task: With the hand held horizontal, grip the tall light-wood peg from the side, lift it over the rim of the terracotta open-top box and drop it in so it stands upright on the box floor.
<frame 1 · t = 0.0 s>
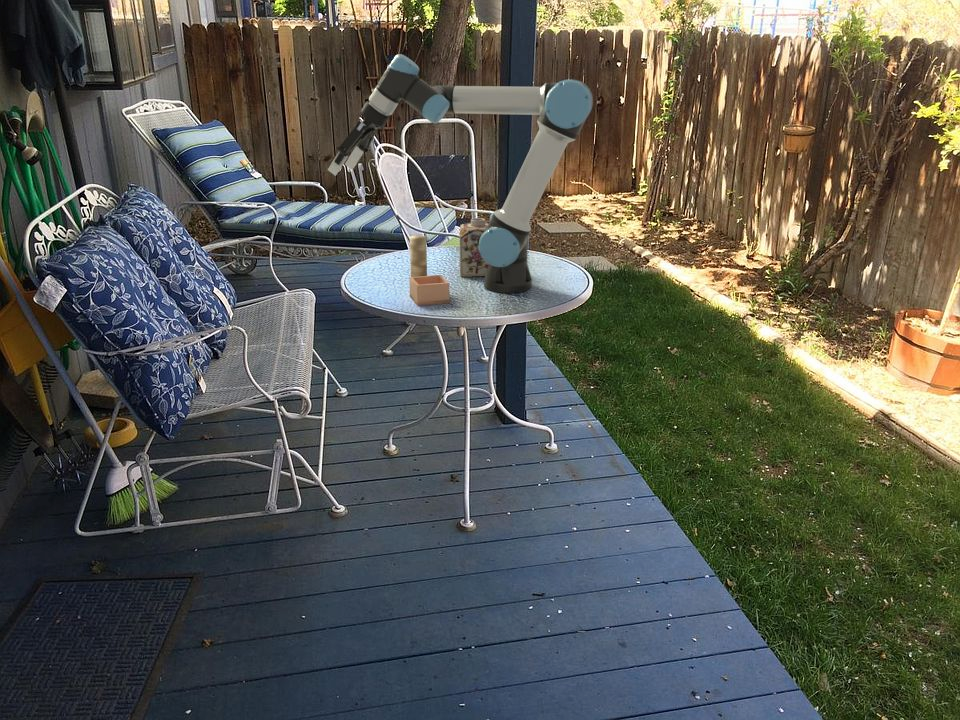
hand: (340, 169, 217), 36 cm above the table, tool tilted 35°, fingers open, 13 cm apart
box: (429, 299, 220), on the table
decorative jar: (477, 273, 250), on the table
peg: (419, 288, 231), on the table
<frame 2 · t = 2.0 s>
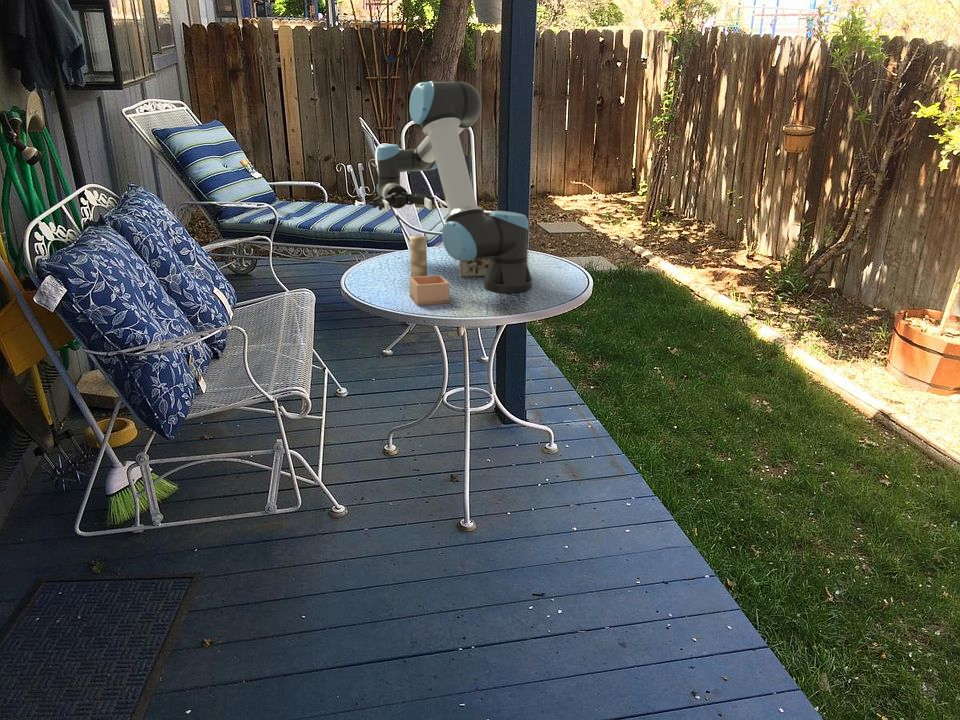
hand: (409, 206, 232), 23 cm above the table, tool horizontal, fingers open, 13 cm apart
nothing on the table moved.
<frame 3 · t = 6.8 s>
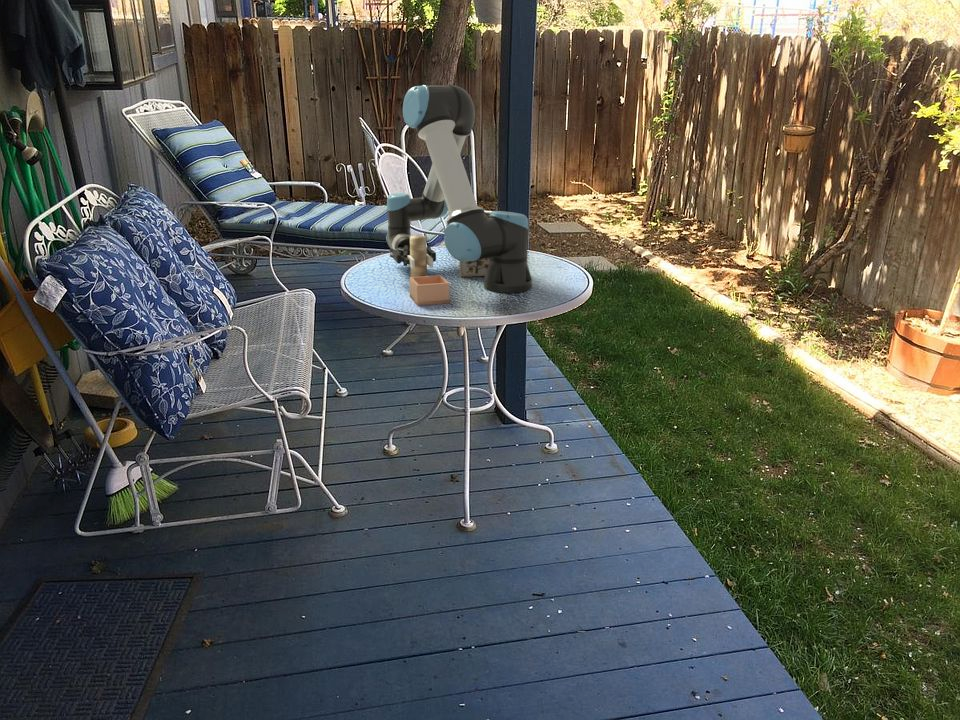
hand: (422, 263, 224), 9 cm above the table, tool horizontal, fingers closed on peg, 5 cm apart
peg: (419, 288, 231), on the table, touching gripper
everything else where it was.
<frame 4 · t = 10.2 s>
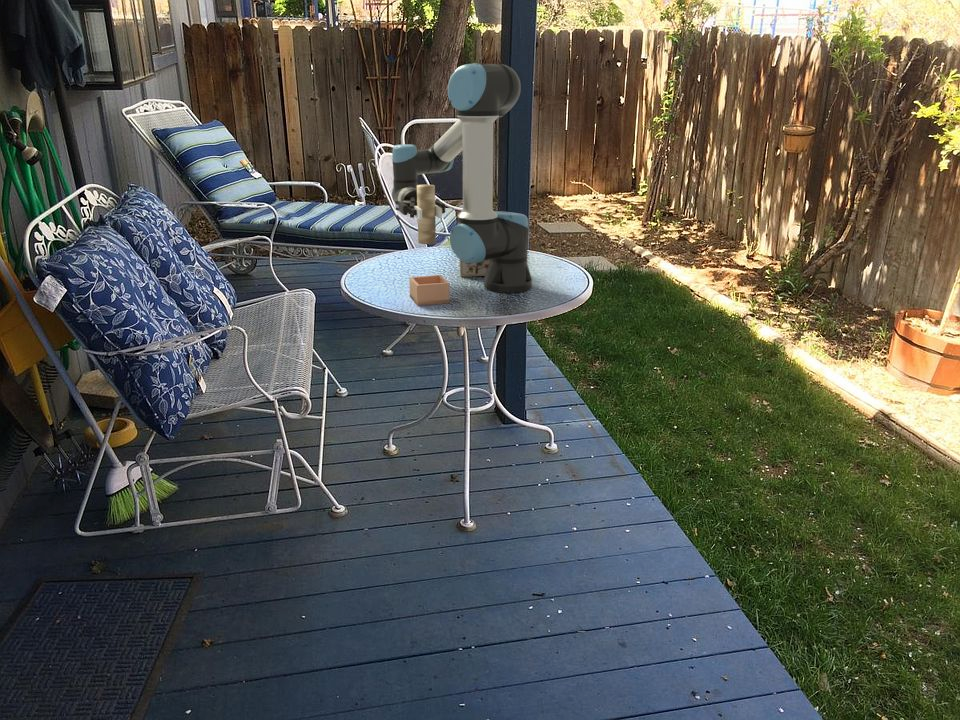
hand: (430, 214, 206), 26 cm above the table, tool horizontal, fingers closed on peg, 5 cm apart
peg: (427, 242, 214), point 17 cm above the table, touching gripper
everything else where it was.
when the fingers open (12 cm above the table, at t = 13.9 s): peg drops 2 cm, resting on box.
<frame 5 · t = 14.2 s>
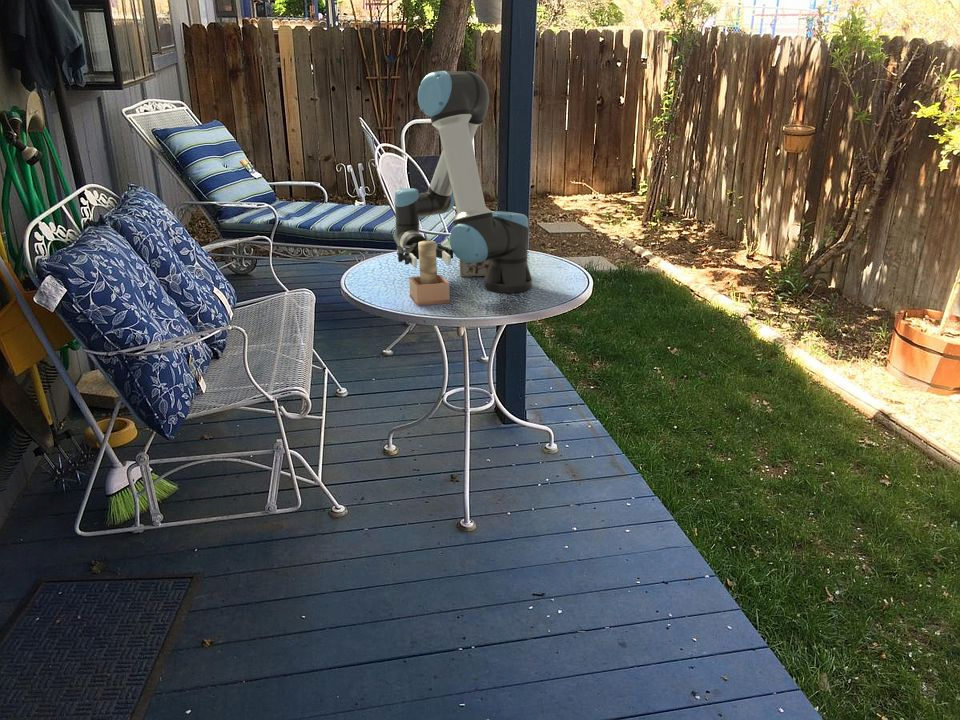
hand: (432, 261, 211), 12 cm above the table, tool horizontal, fingers open, 9 cm apart
peg: (429, 296, 220), point 1 cm above the table, touching box
everything else where it was.
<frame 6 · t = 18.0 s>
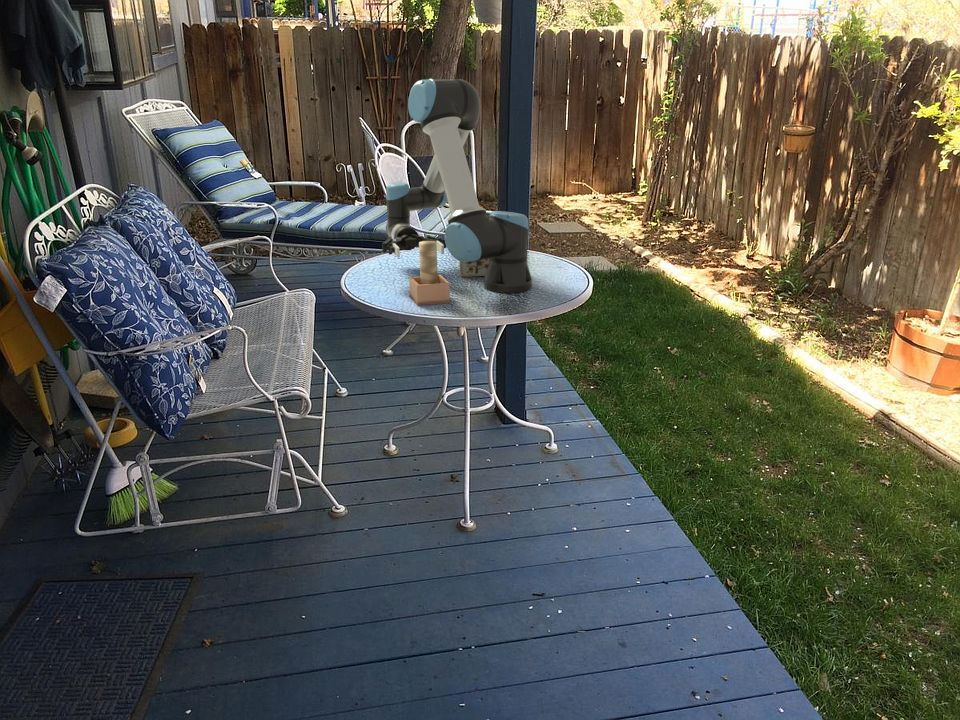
hand: (420, 251, 223), 13 cm above the table, tool horizontal, fingers open, 13 cm apart
nothing on the table moved.
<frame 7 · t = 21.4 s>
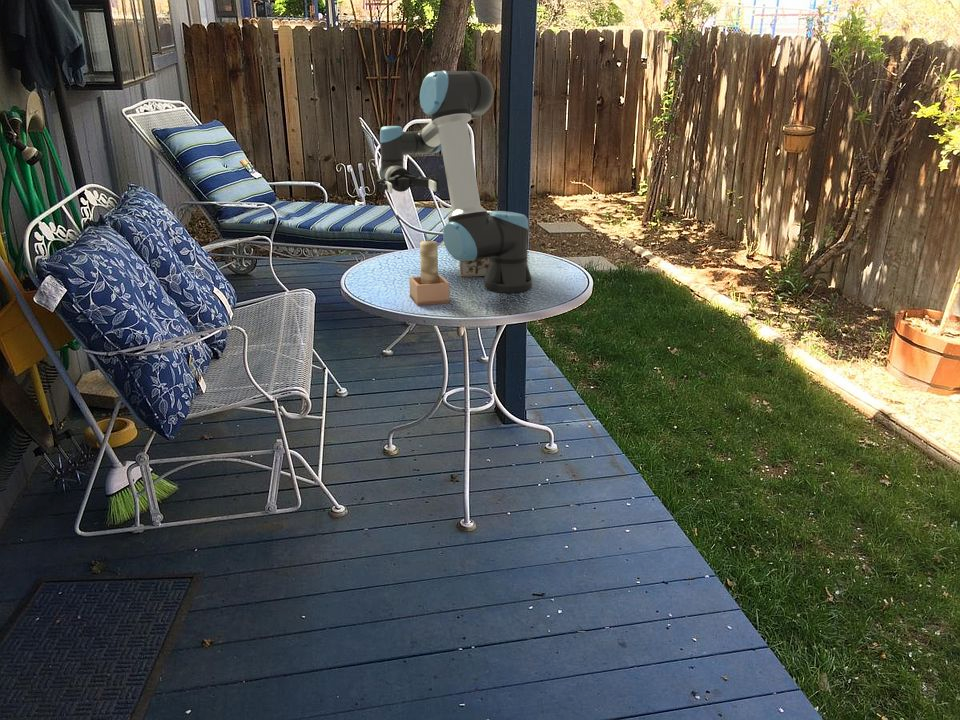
hand: (413, 187, 225), 30 cm above the table, tool horizontal, fingers open, 13 cm apart
nothing on the table moved.
at the end: peg 0.1 cm off-centre on the box, point 1.1 cm above the box's base; peg tilted 1°; the gripper is holding nothing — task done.
